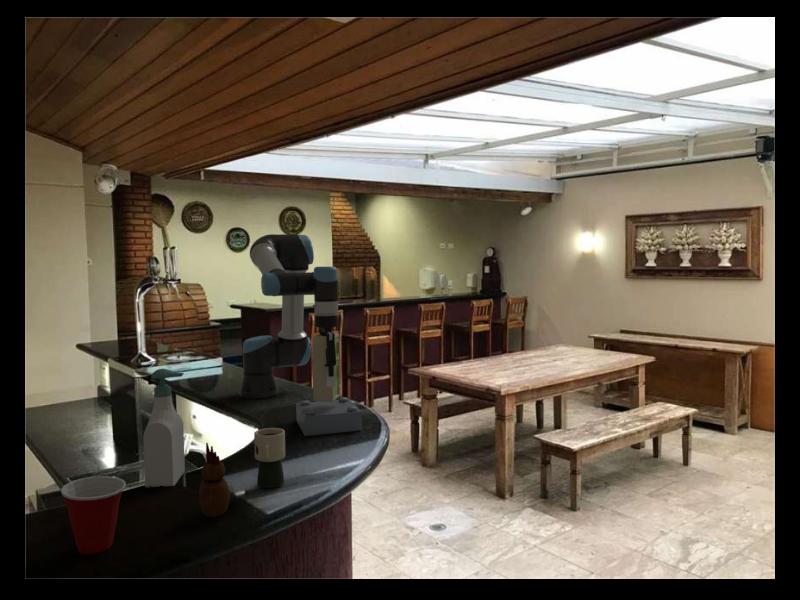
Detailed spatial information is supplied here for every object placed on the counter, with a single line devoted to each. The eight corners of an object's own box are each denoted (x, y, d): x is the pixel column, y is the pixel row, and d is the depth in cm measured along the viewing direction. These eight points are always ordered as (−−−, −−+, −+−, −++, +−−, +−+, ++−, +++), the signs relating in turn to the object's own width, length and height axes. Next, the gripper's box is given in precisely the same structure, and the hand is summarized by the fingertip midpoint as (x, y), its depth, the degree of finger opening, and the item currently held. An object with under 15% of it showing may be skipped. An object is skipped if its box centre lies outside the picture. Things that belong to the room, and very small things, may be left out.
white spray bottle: (181, 486, 140) (177, 372, 139) (145, 488, 139) (140, 373, 138) (192, 470, 151) (188, 364, 150) (158, 471, 150) (154, 365, 149)
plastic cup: (114, 560, 106) (111, 494, 105) (51, 562, 105) (48, 497, 104) (137, 532, 116) (135, 473, 116) (80, 534, 116) (78, 474, 115)
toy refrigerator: (335, 402, 186) (333, 336, 185) (312, 401, 188) (311, 336, 186) (342, 396, 194) (341, 333, 193) (321, 396, 195) (319, 333, 194)
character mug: (259, 477, 146) (258, 425, 145) (288, 476, 146) (287, 425, 145) (251, 495, 135) (249, 439, 134) (282, 494, 135) (281, 438, 134)
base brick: (296, 421, 197) (296, 400, 197) (349, 416, 203) (349, 396, 202) (304, 435, 180) (304, 413, 180) (361, 430, 186) (361, 408, 185)
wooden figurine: (196, 511, 126) (193, 442, 125) (223, 505, 129) (220, 437, 128) (205, 523, 120) (203, 451, 119) (233, 515, 124) (231, 445, 123)
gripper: (309, 312, 199) (310, 377, 200) (320, 317, 177) (322, 391, 179) (331, 311, 201) (332, 376, 203) (345, 317, 180) (346, 389, 181)
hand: (327, 383), depth 191 cm, fingers closed on toy refrigerator, 10 cm apart
